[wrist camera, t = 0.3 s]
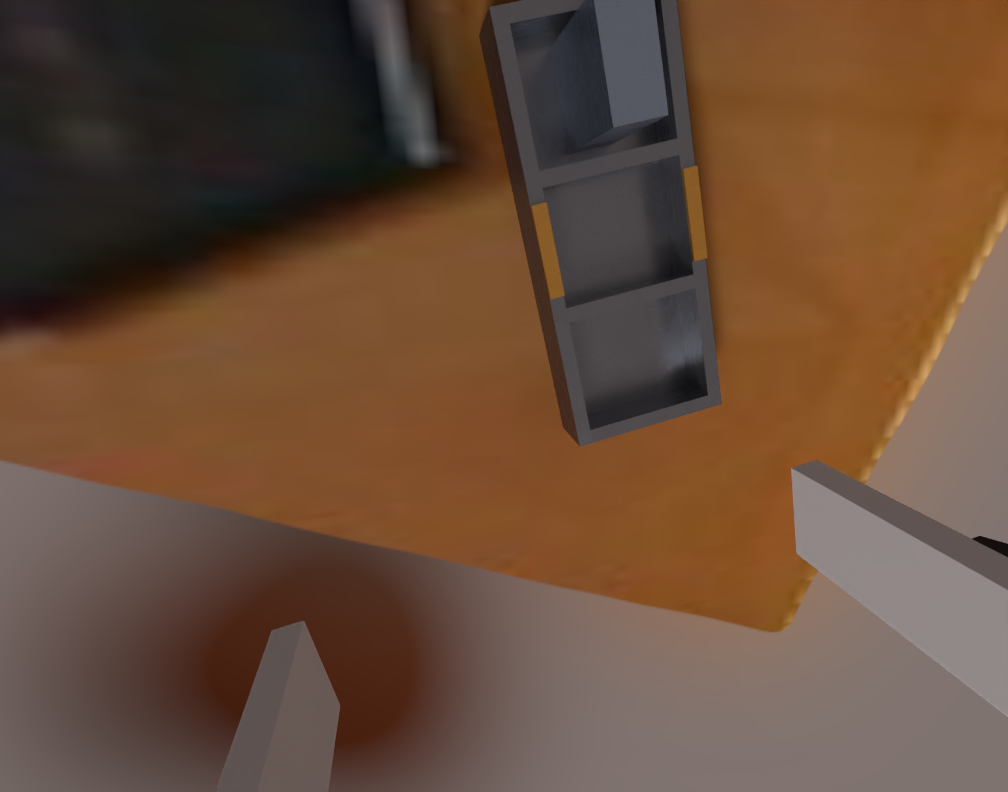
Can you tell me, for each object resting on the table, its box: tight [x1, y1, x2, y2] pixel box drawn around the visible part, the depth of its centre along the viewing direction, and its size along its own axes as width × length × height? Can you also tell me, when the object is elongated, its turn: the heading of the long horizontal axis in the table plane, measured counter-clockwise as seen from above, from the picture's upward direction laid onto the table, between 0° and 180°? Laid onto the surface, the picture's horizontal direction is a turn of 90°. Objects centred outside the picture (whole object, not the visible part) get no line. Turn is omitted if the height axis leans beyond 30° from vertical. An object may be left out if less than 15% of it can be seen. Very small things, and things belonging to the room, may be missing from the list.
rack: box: [479, 0, 722, 446], centre depth 34 cm, size 28×11×9 cm, turn 13°
